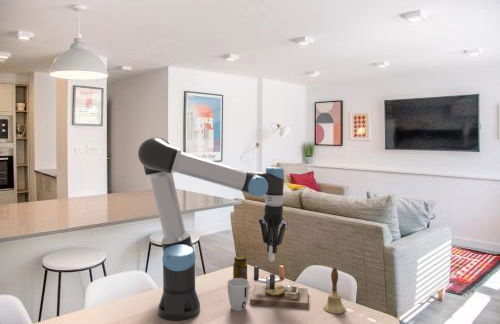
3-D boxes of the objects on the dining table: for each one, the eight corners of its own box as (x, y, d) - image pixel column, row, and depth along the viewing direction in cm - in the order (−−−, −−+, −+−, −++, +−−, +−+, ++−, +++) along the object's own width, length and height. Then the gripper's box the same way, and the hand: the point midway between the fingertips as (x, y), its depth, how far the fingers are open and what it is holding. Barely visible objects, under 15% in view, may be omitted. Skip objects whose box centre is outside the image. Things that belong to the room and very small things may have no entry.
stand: (250, 304, 151) (250, 293, 151) (254, 289, 165) (254, 279, 165) (307, 308, 148) (307, 296, 148) (307, 293, 162) (307, 282, 161)
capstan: (252, 298, 151) (252, 274, 150) (254, 286, 162) (254, 264, 162) (284, 300, 150) (285, 276, 149) (284, 288, 161) (285, 265, 160)
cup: (246, 313, 143) (246, 287, 142) (224, 311, 145) (224, 285, 144) (250, 304, 151) (250, 279, 150) (230, 302, 153) (230, 277, 152)
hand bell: (321, 311, 145) (322, 269, 144) (325, 302, 153) (326, 262, 152) (343, 315, 142) (345, 273, 141) (347, 306, 150) (348, 265, 149)
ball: (284, 295, 154) (284, 287, 154) (285, 291, 158) (285, 284, 157) (292, 295, 154) (292, 287, 154) (293, 292, 157) (293, 284, 157)
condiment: (246, 280, 175) (246, 254, 174) (250, 288, 167) (250, 260, 166) (230, 282, 173) (230, 255, 172) (233, 289, 165) (233, 261, 164)
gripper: (255, 203, 162) (253, 259, 164) (283, 207, 155) (281, 266, 157) (265, 201, 168) (263, 255, 170) (292, 205, 161) (289, 261, 163)
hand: (271, 260), depth 163 cm, fingers closed
